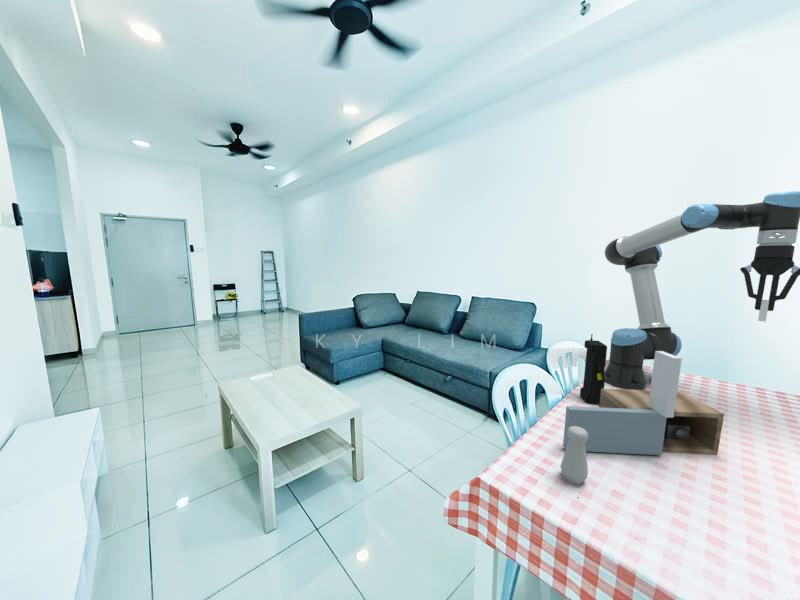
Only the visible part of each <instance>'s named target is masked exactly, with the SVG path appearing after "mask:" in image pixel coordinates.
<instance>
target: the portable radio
mask: <svg viewBox="0 0 800 600" xmlns="http://www.w3.org/2000/svg"><path fill="white" fill-rule="evenodd" d="M590 335H591V336H590V340H588V339H587V340H585V341H584V345H583V346H584V348H585V349H586V355H585V365H584V375H583V384H582V387H580V389H579V391H580V392H579V397H580V398H581V399H582V400H583V401H584V403H586V404H591V405H599V404H600V395H601V388H603V389H605V377H604V371H605V369H606V364H607V363H606V362H607V354H608V352H607V351H608V346H607V345H606V344H604V343H603V342H601V341H599V340H594V338H593V334H590Z"/></svg>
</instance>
